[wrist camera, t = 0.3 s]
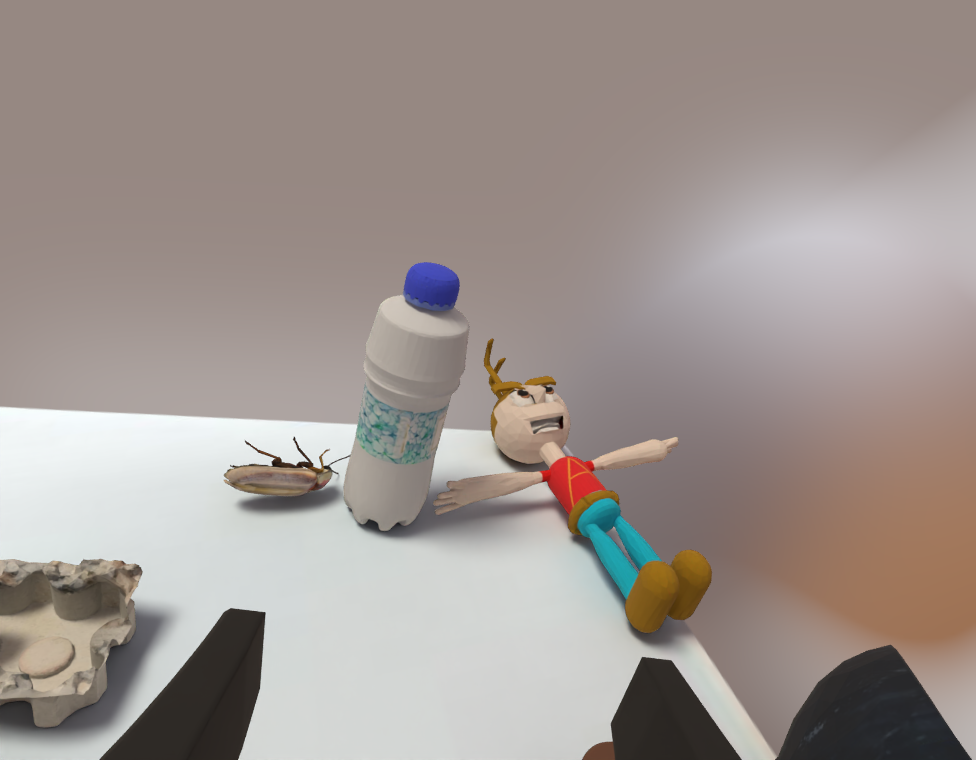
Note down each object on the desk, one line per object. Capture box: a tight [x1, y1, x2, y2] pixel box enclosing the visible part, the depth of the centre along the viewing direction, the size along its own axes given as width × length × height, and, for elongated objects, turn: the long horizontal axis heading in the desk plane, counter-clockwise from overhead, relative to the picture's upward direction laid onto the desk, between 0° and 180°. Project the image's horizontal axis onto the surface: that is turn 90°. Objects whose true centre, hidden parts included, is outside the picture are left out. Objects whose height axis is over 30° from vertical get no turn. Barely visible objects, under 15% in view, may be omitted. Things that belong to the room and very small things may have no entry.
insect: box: [224, 437, 351, 496], centre depth 43 cm, size 6×9×3 cm
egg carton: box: [0, 559, 142, 728], centre depth 28 cm, size 11×8×4 cm
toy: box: [433, 339, 712, 633], centre depth 50 cm, size 25×8×30 cm
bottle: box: [343, 262, 469, 531], centre depth 41 cm, size 7×7×20 cm
